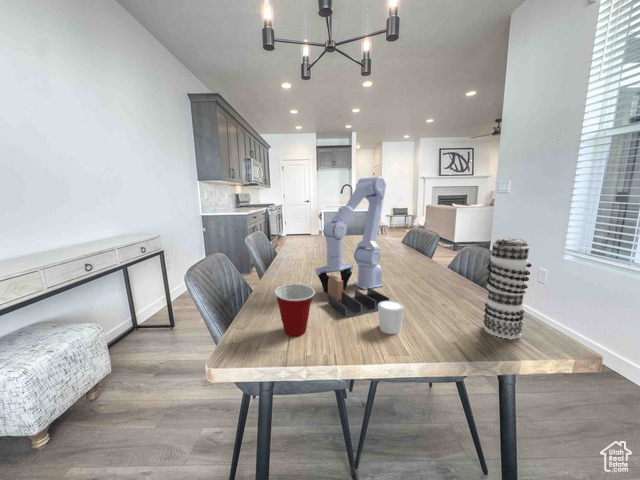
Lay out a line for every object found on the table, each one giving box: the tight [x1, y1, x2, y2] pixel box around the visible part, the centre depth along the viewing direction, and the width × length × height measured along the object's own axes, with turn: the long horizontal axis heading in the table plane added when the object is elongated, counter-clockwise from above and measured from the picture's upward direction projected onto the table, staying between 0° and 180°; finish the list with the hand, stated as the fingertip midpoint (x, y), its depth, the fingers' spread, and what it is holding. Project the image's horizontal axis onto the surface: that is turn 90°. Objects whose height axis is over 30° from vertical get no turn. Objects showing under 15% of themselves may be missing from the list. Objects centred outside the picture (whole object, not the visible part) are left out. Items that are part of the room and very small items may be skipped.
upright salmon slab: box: [327, 273, 344, 300], centre depth 96 cm, size 2×9×7 cm, turn 25°
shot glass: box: [377, 300, 405, 335], centre depth 71 cm, size 7×7×7 cm
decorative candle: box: [482, 237, 532, 339], centre depth 67 cm, size 9×9×25 cm
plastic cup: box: [274, 283, 316, 338], centre depth 69 cm, size 11×11×12 cm
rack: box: [327, 287, 391, 319], centre depth 86 cm, size 17×12×3 cm
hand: (334, 290), depth 96 cm, fingers open, 7 cm apart
